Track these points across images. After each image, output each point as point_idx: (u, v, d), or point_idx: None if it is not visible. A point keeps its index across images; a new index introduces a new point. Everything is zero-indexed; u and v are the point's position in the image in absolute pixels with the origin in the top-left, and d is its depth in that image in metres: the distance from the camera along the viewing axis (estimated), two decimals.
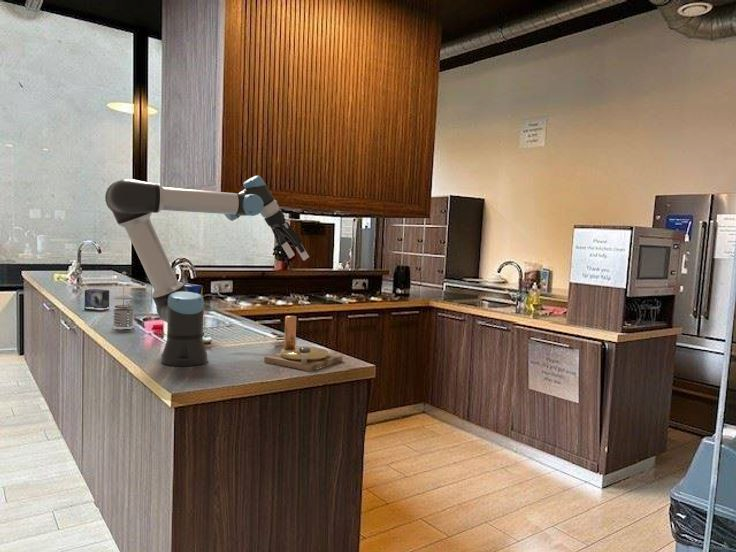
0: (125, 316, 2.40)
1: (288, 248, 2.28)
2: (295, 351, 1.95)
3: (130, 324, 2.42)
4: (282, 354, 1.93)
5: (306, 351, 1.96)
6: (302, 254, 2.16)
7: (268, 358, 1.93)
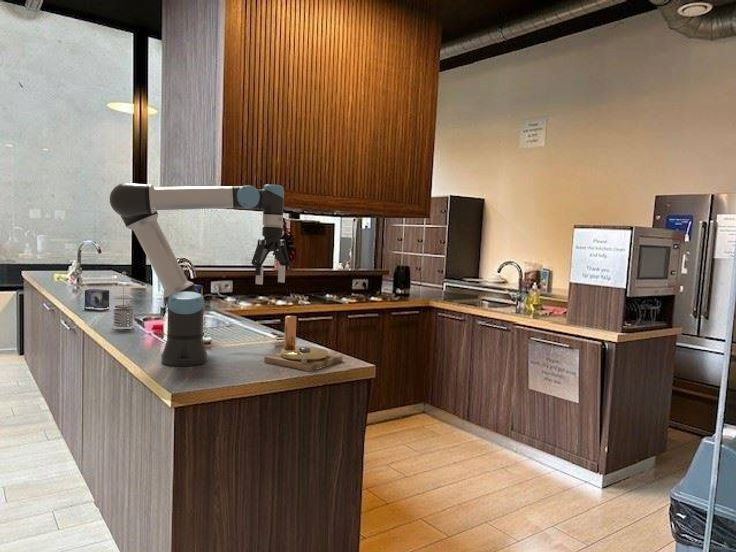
0: (125, 316, 2.40)
1: (281, 272, 2.13)
2: (295, 351, 1.95)
3: (130, 324, 2.42)
4: (282, 354, 1.93)
5: (306, 351, 1.96)
6: (257, 277, 2.02)
7: (268, 358, 1.93)
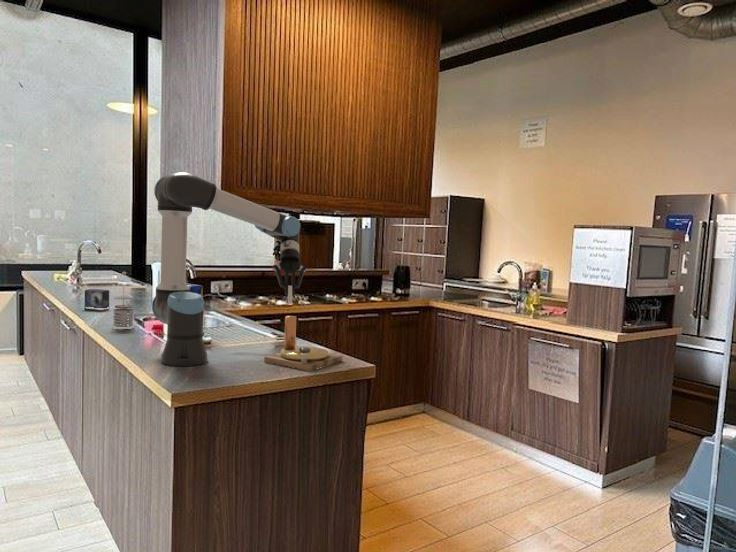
0: (125, 316, 2.40)
1: None
2: (295, 351, 1.95)
3: (130, 324, 2.42)
4: (282, 354, 1.93)
5: (306, 351, 1.96)
6: None
7: (268, 358, 1.93)
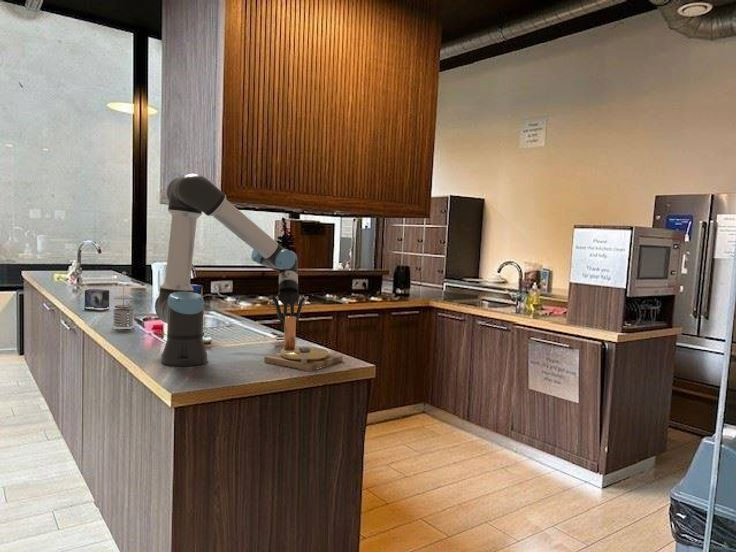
0: (125, 316, 2.40)
1: None
2: (295, 351, 1.95)
3: (130, 324, 2.42)
4: (282, 354, 1.93)
5: (306, 351, 1.96)
6: None
7: (268, 358, 1.93)
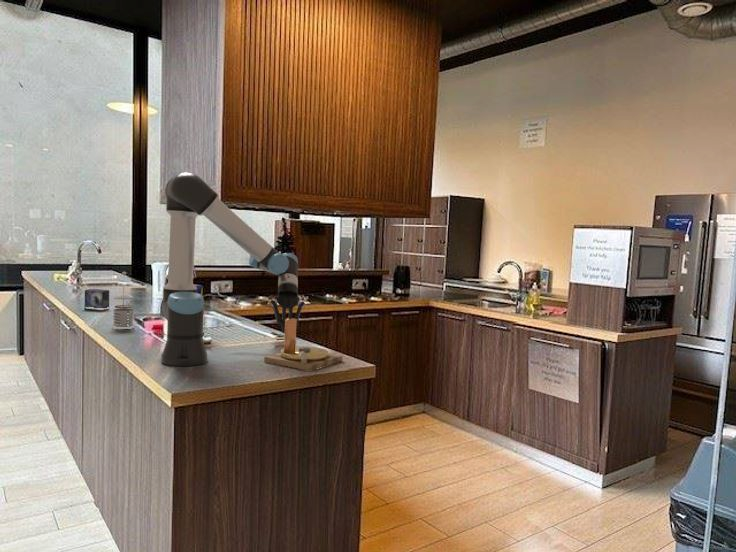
0: (125, 316, 2.40)
1: None
2: (304, 352, 1.94)
3: (130, 324, 2.42)
4: (299, 358, 1.89)
5: (309, 350, 1.98)
6: None
7: (268, 358, 1.93)
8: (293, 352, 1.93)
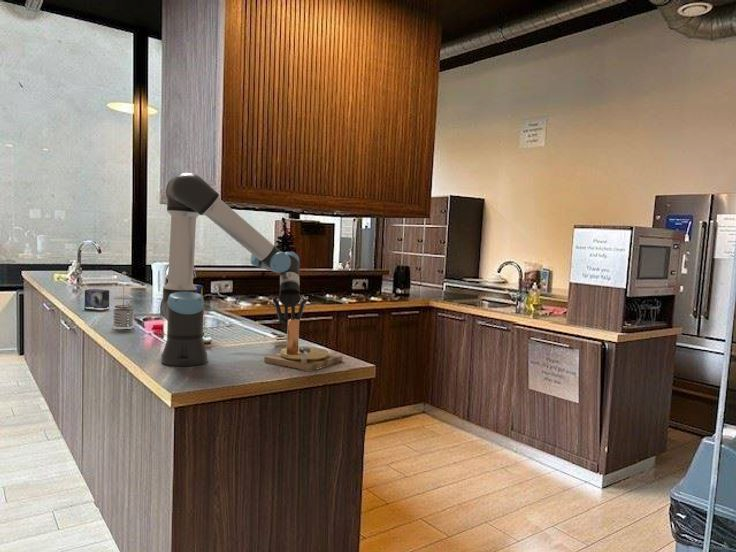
0: (125, 316, 2.40)
1: None
2: (307, 352, 1.94)
3: (130, 324, 2.42)
4: None
5: (310, 350, 1.98)
6: None
7: (268, 358, 1.93)
8: (297, 353, 1.92)
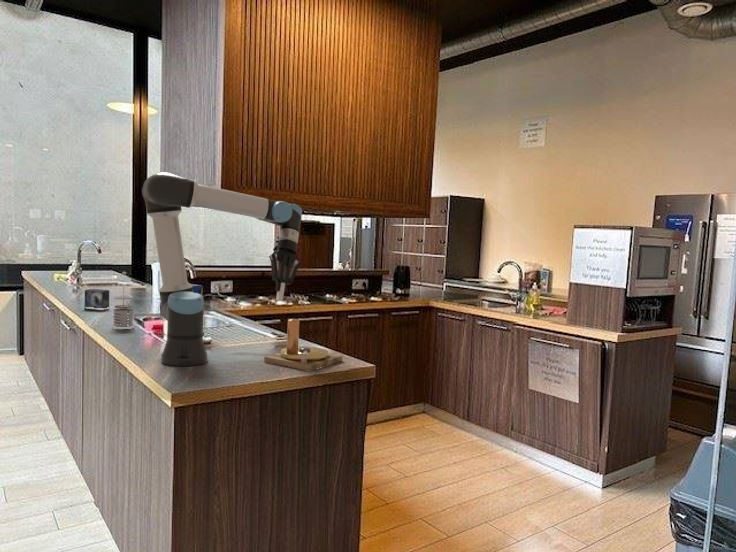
0: (125, 316, 2.40)
1: None
2: (307, 352, 1.94)
3: (130, 324, 2.42)
4: None
5: (310, 350, 1.98)
6: (277, 293, 2.07)
7: (268, 358, 1.93)
8: (297, 353, 1.92)
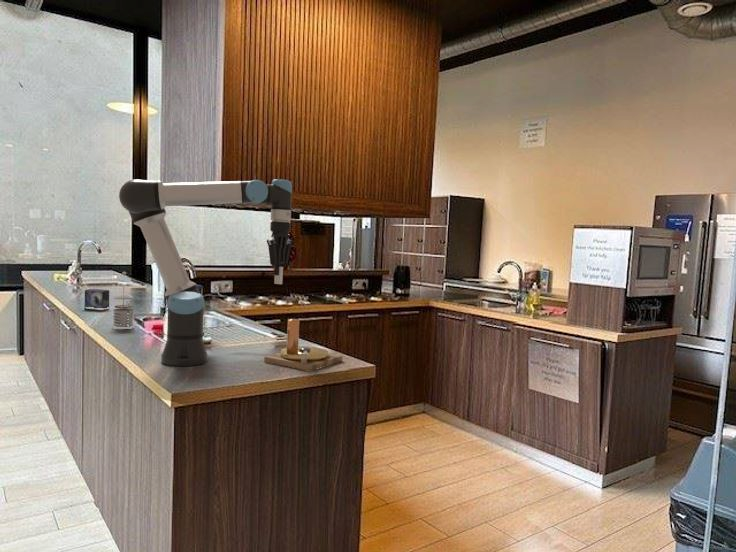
0: (125, 316, 2.40)
1: None
2: (307, 352, 1.94)
3: (130, 324, 2.42)
4: None
5: (310, 350, 1.98)
6: (276, 277, 2.08)
7: (268, 358, 1.93)
8: (297, 353, 1.92)
